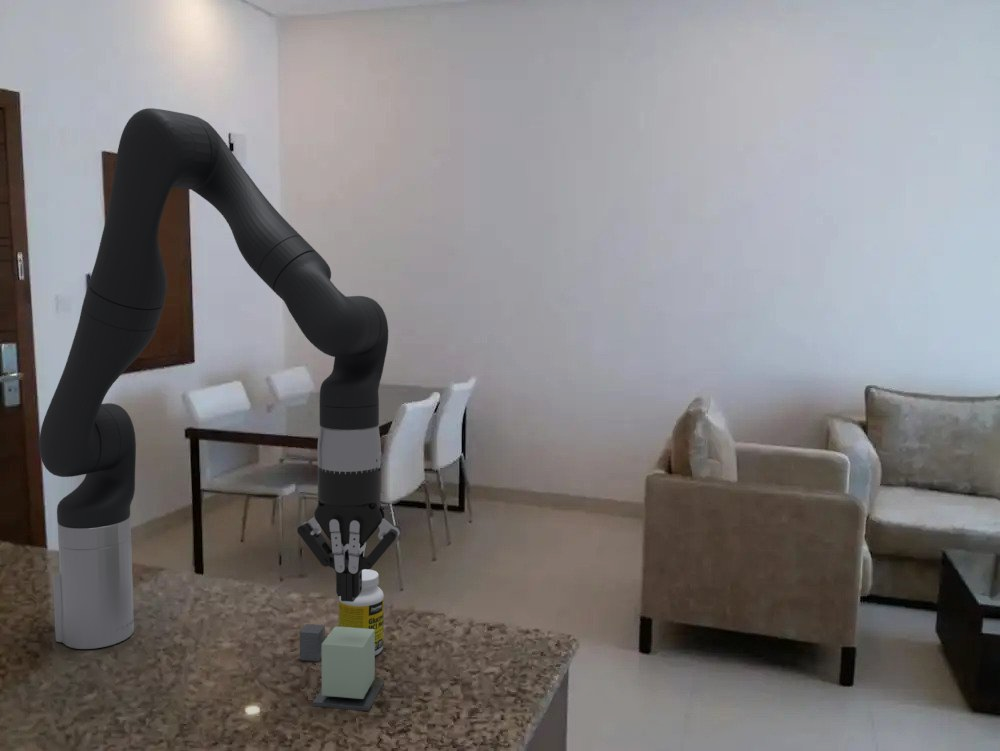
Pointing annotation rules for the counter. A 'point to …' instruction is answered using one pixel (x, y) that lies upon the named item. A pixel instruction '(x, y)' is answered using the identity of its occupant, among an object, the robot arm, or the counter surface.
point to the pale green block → (348, 662)
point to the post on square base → (351, 699)
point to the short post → (311, 642)
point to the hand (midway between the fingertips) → (349, 599)
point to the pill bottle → (365, 608)
